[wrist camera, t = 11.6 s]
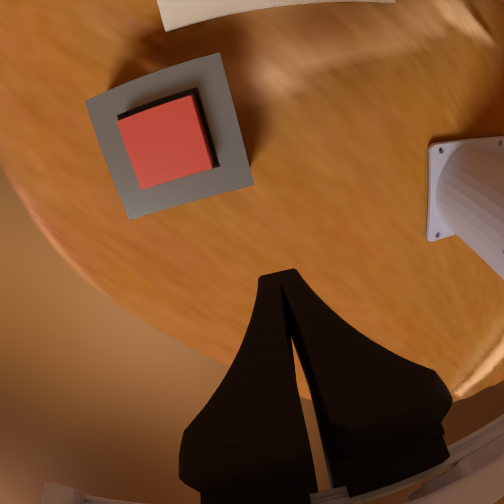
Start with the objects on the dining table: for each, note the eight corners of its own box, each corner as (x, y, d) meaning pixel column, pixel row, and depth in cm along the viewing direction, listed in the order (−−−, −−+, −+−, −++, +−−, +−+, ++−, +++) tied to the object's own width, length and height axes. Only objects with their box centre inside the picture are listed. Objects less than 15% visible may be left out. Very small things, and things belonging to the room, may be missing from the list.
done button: (195, 93, 14) (190, 95, 12) (213, 156, 16) (212, 168, 14) (131, 115, 14) (116, 121, 12) (151, 175, 16) (141, 190, 14)
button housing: (220, 57, 14) (219, 52, 12) (249, 168, 18) (254, 184, 16) (105, 97, 15) (85, 101, 12) (141, 199, 18) (129, 220, 16)
